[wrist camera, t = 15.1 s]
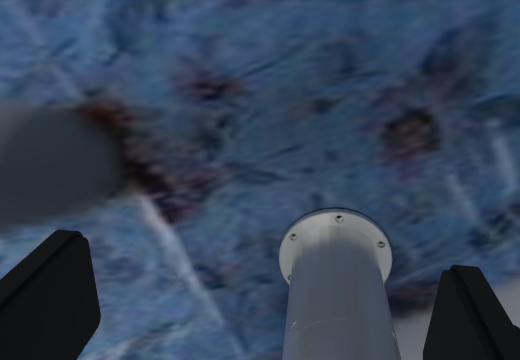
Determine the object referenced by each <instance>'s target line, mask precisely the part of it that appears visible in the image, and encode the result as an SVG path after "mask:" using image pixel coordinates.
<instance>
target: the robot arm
mask: <svg viewBox="0 0 520 360" xmlns="http://www.w3.org/2000/svg"><path fill="white" fill-rule="evenodd" d="M339 215H340V217H337V216H339ZM293 234H295V235H293ZM380 241H381V242H380ZM279 264H280V269H281V272H282V274H283V277H284V278H285V280H286V281H287V283H288V284H289V286H290V287H289V297H288V307H287V317H286V327H285V337H284V347H283V358H282V360H401V356H400V352H399V348H398V344H397V339H396V335H395V330H394V326H393V322H392V317H391V313H390V309H389V304H388V300H387V296H386V291H385V287H384V283H385V282H386V280H387V278H388V276H389V274H390V270H391V267H392V253H391V248H390V245H389V242H388V239H387V237H386V236H385V234H384V232H383V231H382V230H381V229H380V227H379V226H378V225H377V224H376V223H374V222H373V221H372V220H370V219H369V218H368V217H366V216H364V215H362V214H360V213H357V212H354V211H350V210H345V209H337V208H336V209H323V210H319V211H315V212H312V213H310V214H307V215H305V216H303V217H302V218H300V219H299V220H297V221H296V222H295V223H294V224H293V225H292V226H291V227H290V228H289V229H288V231H287V232H286V234H285V235H284V237H283V240H282V242H281V246H280V251H279ZM100 318H101V313H100V307H99V301H98V296H97V290H96V284H95V278H94V272H93V266H92V261H91V255H90V249H89V243H88V240H87V238H85V237H83V235H82V234H81V232H79V231H69V230H57V231H55V232H54V233H53V234H51V235H50V236H49V237H48V238H47V239H46V240H45V241H44V242H42V243H41V244H40V245H39V246H38V247H37V248H36V249H34V250H33V251H32V252H31V253H30V254H29V255H28V256H27V257H25V258H24V259H23V260H22V261H21V262H20V263H19V264H18V265H16V266H15V267H14V268H13V269H12V270H11V271H10V272H9V273H7V274H6V275H5V276H4V277H3V278H2V279H1V280H0V360H76V359H77V358H78V356H79V355H80V353H81V352H82V350H83V349H84V347H85V346H86V344H87V343H88V341H89V340H90V338H91V337H92V335H93V334H94V332H95V331H96V329H97V328H98V326H99V323H100ZM423 360H520V328H519V327H517V326H515V325H513V324H512V322H511V320H510V319H509V317H508V315H507V314H506V312H505V310H504V309H503V307H502V305H501V304H500V302H499V300H498V299H497V297H496V295H495V294H494V292H493V290H492V288H491V287H490V285H489V283H488V282H487V280H486V278H485V277H484V275H483V273H482V272H481V270H480V269H479V268H478V267H473V266H462V265H452V266H451V268H450V270H444V271H443V272H442V275H441V279H440V283H439V287H438V292H437V296H436V300H435V304H434V308H433V312H432V316H431V321H430V325H429V329H428V333H427V337H426V342H425V345H424V350H423Z"/></svg>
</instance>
